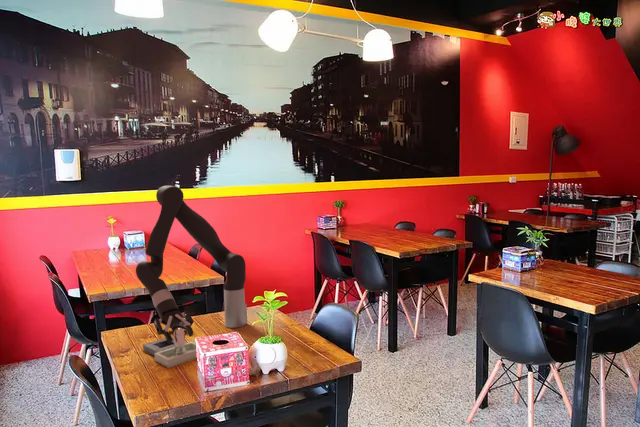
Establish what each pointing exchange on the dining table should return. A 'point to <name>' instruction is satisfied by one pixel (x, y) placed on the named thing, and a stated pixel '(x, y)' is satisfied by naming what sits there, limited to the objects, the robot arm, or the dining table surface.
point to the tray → (170, 360)
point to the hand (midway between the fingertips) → (181, 338)
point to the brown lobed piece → (176, 327)
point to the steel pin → (179, 341)
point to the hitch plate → (158, 346)
